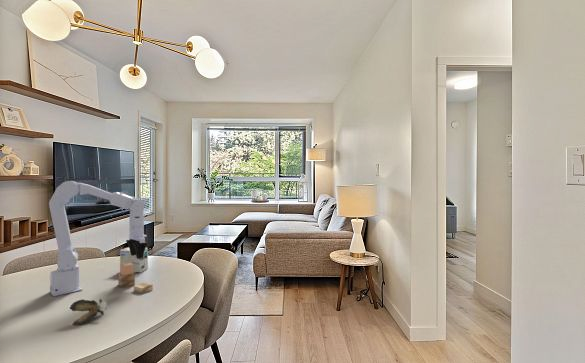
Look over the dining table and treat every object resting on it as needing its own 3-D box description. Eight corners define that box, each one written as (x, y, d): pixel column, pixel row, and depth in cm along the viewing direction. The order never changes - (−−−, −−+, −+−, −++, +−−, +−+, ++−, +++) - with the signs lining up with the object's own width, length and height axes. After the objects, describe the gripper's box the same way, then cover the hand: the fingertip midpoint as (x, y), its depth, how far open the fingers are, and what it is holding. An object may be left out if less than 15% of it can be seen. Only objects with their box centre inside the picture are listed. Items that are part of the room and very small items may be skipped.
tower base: (121, 288, 128) (121, 282, 128) (118, 285, 132) (118, 279, 132) (134, 285, 131) (134, 279, 131) (131, 282, 135) (131, 276, 135)
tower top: (121, 282, 128) (121, 276, 128) (118, 279, 131) (118, 273, 131) (134, 279, 131) (134, 273, 131) (131, 276, 135) (131, 271, 135)
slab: (141, 294, 121) (141, 288, 121) (133, 292, 124) (133, 285, 124) (152, 290, 126) (152, 284, 126) (145, 288, 128) (145, 282, 128)
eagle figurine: (95, 307, 106) (65, 311, 99) (104, 291, 105) (75, 294, 98) (102, 324, 102) (72, 330, 95) (112, 308, 101) (83, 313, 94)
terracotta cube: (123, 275, 129) (123, 266, 129) (120, 273, 131) (120, 264, 131) (133, 273, 131) (133, 264, 131) (130, 271, 134) (130, 262, 134)
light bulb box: (148, 268, 154) (148, 247, 154) (140, 273, 148) (140, 250, 147) (128, 268, 155) (128, 246, 155) (119, 272, 149) (119, 249, 149)
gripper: (152, 227, 135) (152, 258, 135) (140, 223, 145) (140, 252, 145) (134, 228, 130) (135, 261, 130) (123, 225, 140) (124, 255, 140)
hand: (136, 256), depth 137 cm, fingers open, 7 cm apart
